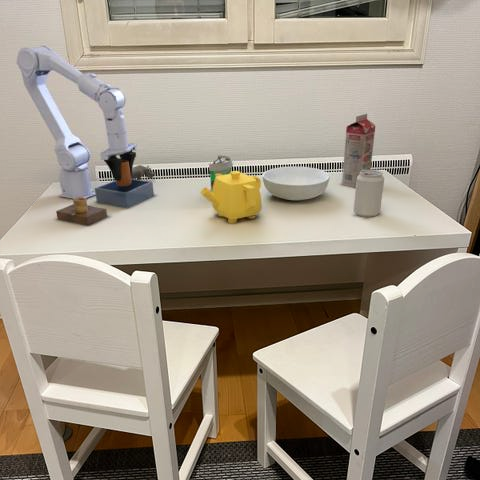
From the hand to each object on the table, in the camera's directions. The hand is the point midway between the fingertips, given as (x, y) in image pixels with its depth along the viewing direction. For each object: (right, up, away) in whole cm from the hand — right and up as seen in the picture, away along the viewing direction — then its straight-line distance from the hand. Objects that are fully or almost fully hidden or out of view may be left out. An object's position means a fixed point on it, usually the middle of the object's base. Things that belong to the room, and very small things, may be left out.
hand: (123, 178), depth 159 cm
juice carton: (+76, +1, +12) cm, 77 cm away
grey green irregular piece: (+32, -2, +9) cm, 33 cm away
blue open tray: (0, -6, +3) cm, 7 cm away
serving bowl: (+54, -5, +2) cm, 55 cm away
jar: (0, -2, +1) cm, 2 cm away
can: (+73, -14, -13) cm, 76 cm away
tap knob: (-9, -13, -13) cm, 21 cm away
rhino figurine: (+1, +4, +19) cm, 20 cm away
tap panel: (-9, -15, -11) cm, 21 cm away
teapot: (+34, -15, -13) cm, 40 cm away
